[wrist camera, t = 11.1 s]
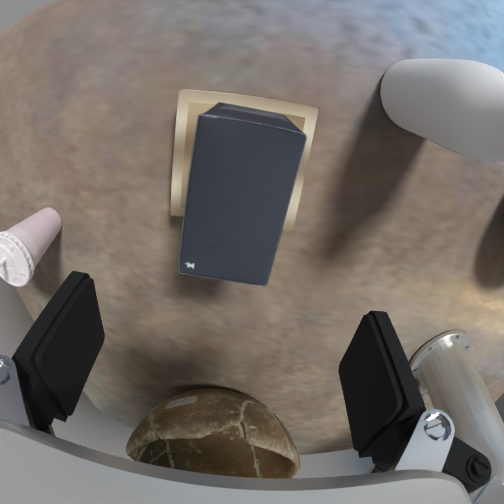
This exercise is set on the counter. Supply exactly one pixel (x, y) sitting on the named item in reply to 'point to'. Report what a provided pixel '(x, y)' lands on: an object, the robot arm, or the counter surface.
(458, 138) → the milk bottle
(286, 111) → the base
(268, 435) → the bowl
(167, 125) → the counter surface
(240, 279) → the small box
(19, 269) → the smoothie
